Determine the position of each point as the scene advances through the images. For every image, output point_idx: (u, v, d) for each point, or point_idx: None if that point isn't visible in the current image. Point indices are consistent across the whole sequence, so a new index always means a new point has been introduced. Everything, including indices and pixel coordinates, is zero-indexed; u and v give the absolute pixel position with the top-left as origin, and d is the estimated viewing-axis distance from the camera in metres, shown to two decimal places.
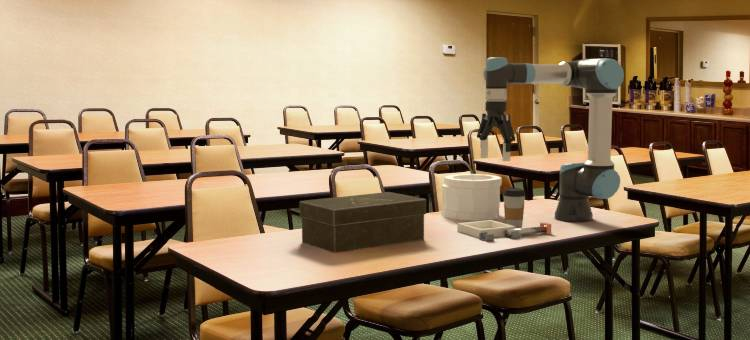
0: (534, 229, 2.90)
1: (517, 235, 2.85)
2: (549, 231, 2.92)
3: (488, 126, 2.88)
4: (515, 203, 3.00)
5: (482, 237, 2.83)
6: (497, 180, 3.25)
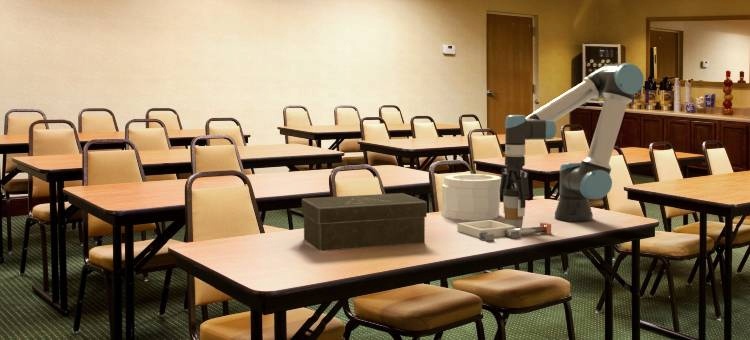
0: (534, 229, 2.90)
1: (517, 235, 2.85)
2: (549, 231, 2.92)
3: (509, 180, 3.04)
4: (515, 203, 3.00)
5: (482, 237, 2.83)
6: (497, 180, 3.25)
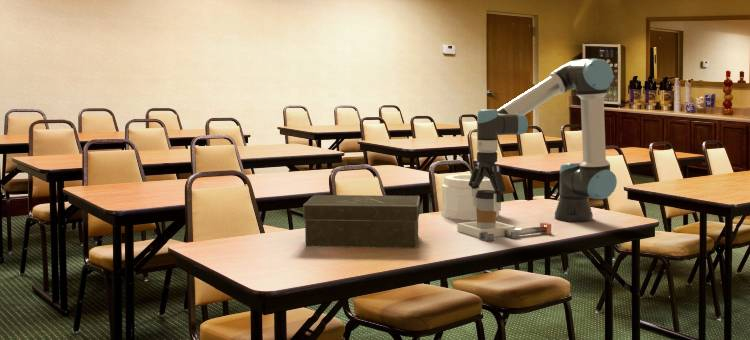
0: (534, 229, 2.90)
1: (517, 235, 2.85)
2: (549, 231, 2.92)
3: (479, 176, 2.95)
4: (487, 206, 2.90)
5: (482, 237, 2.83)
6: None
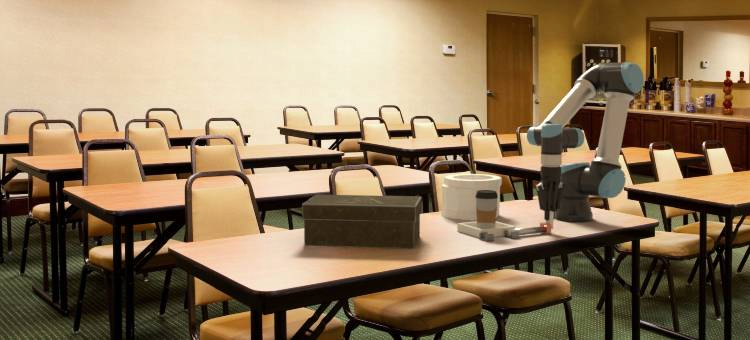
0: (534, 229, 2.90)
1: (517, 235, 2.85)
2: (549, 231, 2.92)
3: None
4: (487, 206, 2.90)
5: (482, 237, 2.83)
6: (497, 180, 3.25)
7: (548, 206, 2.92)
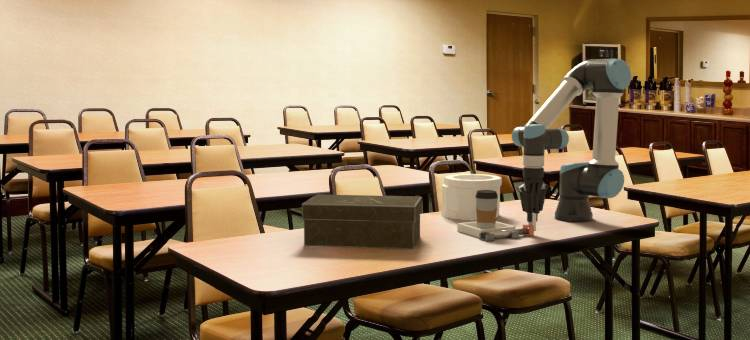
0: None
1: (517, 235, 2.85)
2: (532, 233, 2.88)
3: None
4: (487, 206, 2.90)
5: (482, 237, 2.83)
6: (497, 180, 3.25)
7: (531, 208, 2.88)
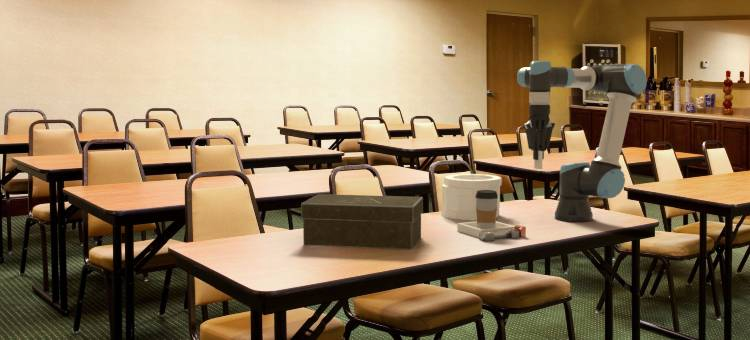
0: (508, 232, 2.85)
1: (517, 235, 2.85)
2: (523, 234, 2.87)
3: None
4: (487, 206, 2.90)
5: None
6: (497, 180, 3.25)
7: (537, 145, 2.87)
